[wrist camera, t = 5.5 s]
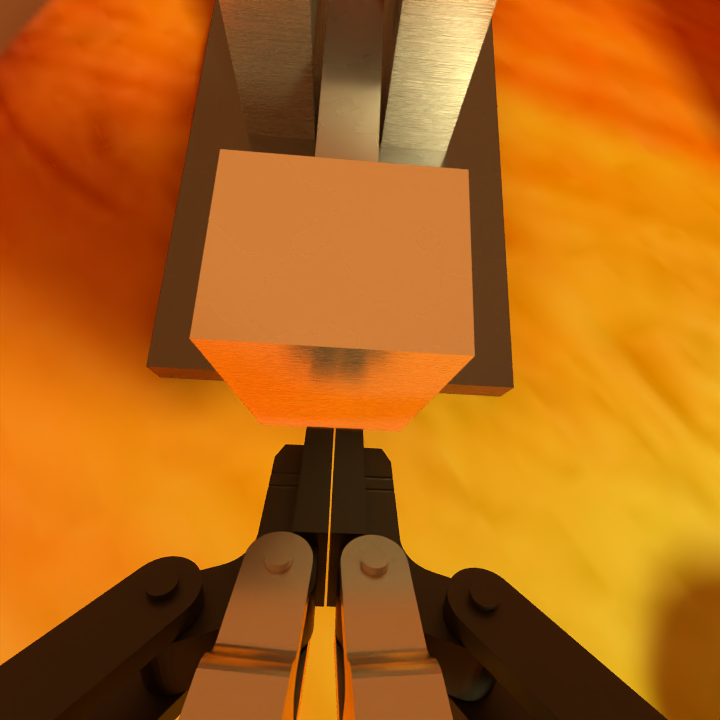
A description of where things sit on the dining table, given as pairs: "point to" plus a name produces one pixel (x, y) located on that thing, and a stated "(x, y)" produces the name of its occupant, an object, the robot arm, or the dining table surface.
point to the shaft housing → (299, 134)
